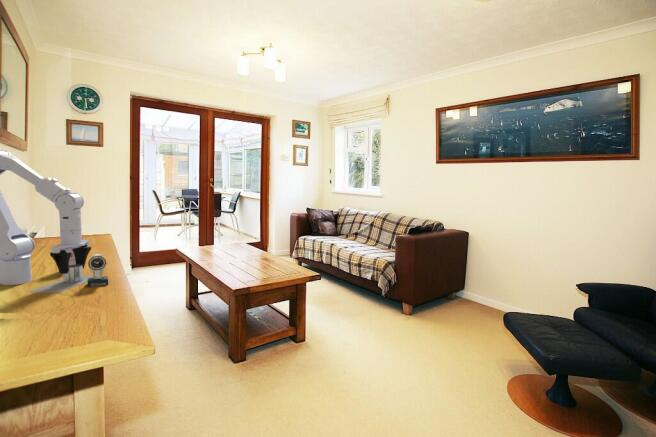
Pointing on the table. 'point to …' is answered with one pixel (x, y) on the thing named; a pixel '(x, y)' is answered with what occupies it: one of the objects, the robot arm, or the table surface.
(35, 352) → the table surface
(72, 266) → the gray hollow cylinder
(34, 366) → the table surface
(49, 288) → the board
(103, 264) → the watch
